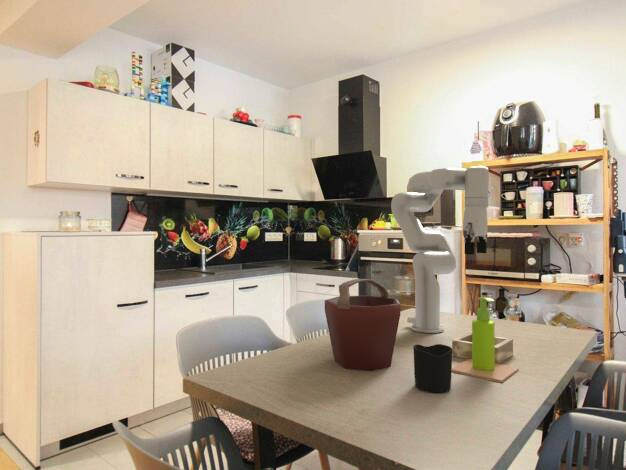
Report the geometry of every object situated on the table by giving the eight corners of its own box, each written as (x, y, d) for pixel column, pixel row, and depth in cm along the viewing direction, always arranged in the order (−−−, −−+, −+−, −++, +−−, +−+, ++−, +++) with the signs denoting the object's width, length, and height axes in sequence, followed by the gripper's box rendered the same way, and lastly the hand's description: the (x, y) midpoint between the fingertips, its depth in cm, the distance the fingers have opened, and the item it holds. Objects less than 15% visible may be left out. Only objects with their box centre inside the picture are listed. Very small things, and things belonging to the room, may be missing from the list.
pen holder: (423, 378, 115) (423, 341, 115) (458, 386, 109) (458, 347, 109) (406, 388, 108) (406, 348, 108) (443, 397, 102) (443, 355, 102)
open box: (452, 356, 136) (452, 340, 136) (469, 347, 147) (469, 332, 146) (498, 364, 127) (498, 347, 127) (512, 354, 137) (512, 339, 137)
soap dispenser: (482, 372, 118) (482, 299, 118) (468, 365, 124) (468, 296, 124) (501, 371, 119) (501, 298, 119) (486, 363, 126) (486, 295, 126)
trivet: (450, 371, 121) (450, 369, 121) (469, 360, 131) (469, 358, 131) (502, 382, 112) (502, 380, 112) (518, 369, 122) (518, 367, 122)
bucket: (352, 379, 114) (352, 285, 114) (307, 359, 132) (307, 278, 132) (417, 364, 128) (417, 279, 127) (368, 348, 146) (368, 274, 146)
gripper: (476, 204, 155) (475, 252, 155) (454, 202, 143) (453, 254, 143) (497, 204, 150) (496, 253, 150) (476, 201, 137) (475, 255, 138)
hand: (475, 253), depth 147 cm, fingers open, 9 cm apart
